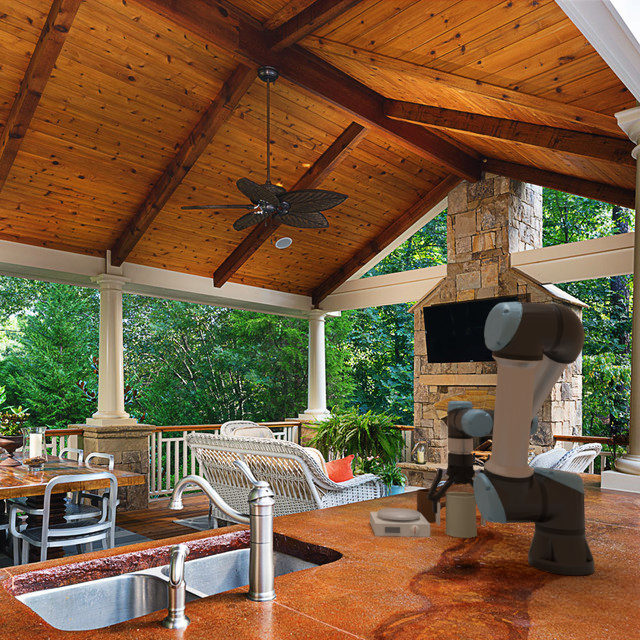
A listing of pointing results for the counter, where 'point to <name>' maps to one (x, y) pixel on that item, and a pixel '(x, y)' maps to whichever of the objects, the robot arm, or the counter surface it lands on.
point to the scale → (399, 523)
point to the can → (460, 514)
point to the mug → (427, 505)
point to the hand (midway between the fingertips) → (460, 524)
